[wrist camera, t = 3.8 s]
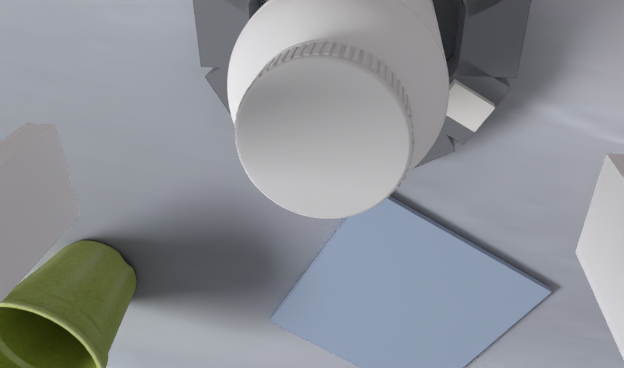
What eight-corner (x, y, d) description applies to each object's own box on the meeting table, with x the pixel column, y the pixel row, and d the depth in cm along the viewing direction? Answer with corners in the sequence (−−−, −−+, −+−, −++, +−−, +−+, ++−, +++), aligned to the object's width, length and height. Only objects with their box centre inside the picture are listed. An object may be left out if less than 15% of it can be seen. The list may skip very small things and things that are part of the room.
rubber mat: (549, 286, 35) (551, 292, 34) (424, 395, 42) (424, 400, 42) (371, 185, 33) (370, 189, 32) (270, 316, 40) (269, 321, 40)
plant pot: (43, 299, 43) (-31, 389, 35) (34, 206, 38) (-55, 287, 30) (155, 328, 42) (104, 424, 35) (160, 237, 38) (102, 327, 30)
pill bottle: (360, -98, 25) (322, -65, 12) (466, 26, 27) (525, 163, 15) (253, 19, 29) (136, 139, 16) (353, 120, 31) (322, 297, 18)
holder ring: (588, -35, 25) (610, -23, 22) (397, 200, 33) (397, 228, 31) (297, -236, 23) (284, -250, 20) (168, 69, 31) (147, 88, 28)
